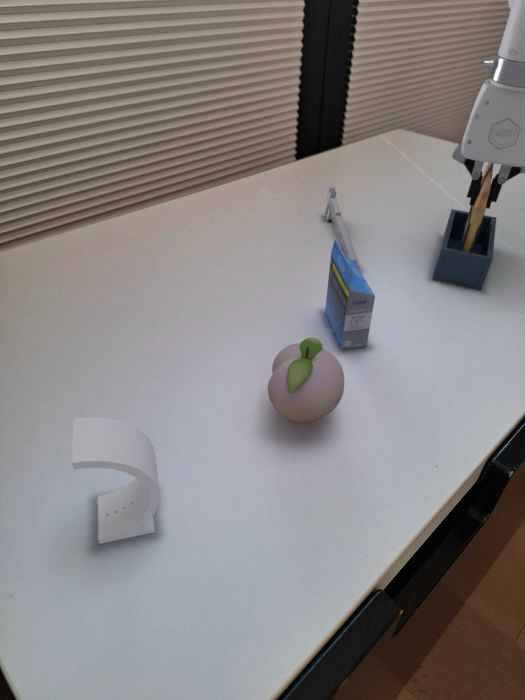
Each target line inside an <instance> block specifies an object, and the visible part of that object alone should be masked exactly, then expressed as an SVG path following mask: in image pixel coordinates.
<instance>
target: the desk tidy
mask: <svg viewBox="0 0 525 700" xmlns="http://www.w3.org/2000/svg"><path fill="white" fill-rule="evenodd" d="M468 214H469V211H464V210H460V209H459V210H458V209H454V208H451V210H450V213H449V216H448V219H447V223H446V227H445V229H444V233H443V237H442V240H441V244H440V248H439V251H438V256H437V260H436V262H435V267H434V271H433V274H432V279H431V280H432V281H438V282H442V283H447V284H452V285H455V286H459V287H464V288H469V289H473V290H478V291H482V288H483V286H484V283H485V281H486V278H487V275H488V272H489V270H490V267H491V264H492V261H493V255H494V247H495V237H496V228H497V227H496V226H497V217H496V216H491V215H487V214H486V215H485V214H484V216H483V219H482V224H481V228H480V231H479V234H478V237H477V240H476V243H475V246H474V249H473V252H472V253H470V252H465V251H460V246H461V241H462V236H463V232H464V227H465V223H466V220H467V217H468Z"/></svg>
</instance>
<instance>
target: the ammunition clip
mask: <svg viewBox="0 0 525 700" xmlns="http://www.w3.org/2000/svg"><path fill="white" fill-rule="evenodd" d="M494 165H495V163H489V162H487V165H486V167H485V169H484V172H483V174H482V176H483V177H482V183H481V186H480V189H479V192H478V195H477V198H476V201H475V204H474V205H473V206H471V205H470V208H469V211H468V212H469V214H468V217H467V220H466V223H465V227H464V232H463V236H462V241H461V246H460V251H465V252H470V253H472V252H473V249H474V246H475V243H476V240H477V237H478V234H479V231H480V228H481V224H482V219H483V216H484V215H485V212H486V210H487V208H486V204H487V200H488V196H489V193H490V188H491V183H492V180H493V171H494Z"/></svg>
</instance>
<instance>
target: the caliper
mask: <svg viewBox="0 0 525 700" xmlns="http://www.w3.org/2000/svg"><path fill="white" fill-rule="evenodd" d="M336 196H337V191H336V187H329V190H328V191H327V195H326V199H325V207H324V216H326V221H332V225H335V228H336V232H337V234H338V237H339V240H340V243H341V246H342V250H343V253H344V255H345V257H346V258H347V259H350V260H353V261H355V263H356V265H357V267H358V264H357V257H356V253H355V251H354V248H353V246H352V242H351V240H350V237H349V234H348V231H347V229H346V226H345V222H344V220H343V217H342V211H341V208H340V206H339V202H338V200H337V198H336ZM358 268H359V267H358Z"/></svg>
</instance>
